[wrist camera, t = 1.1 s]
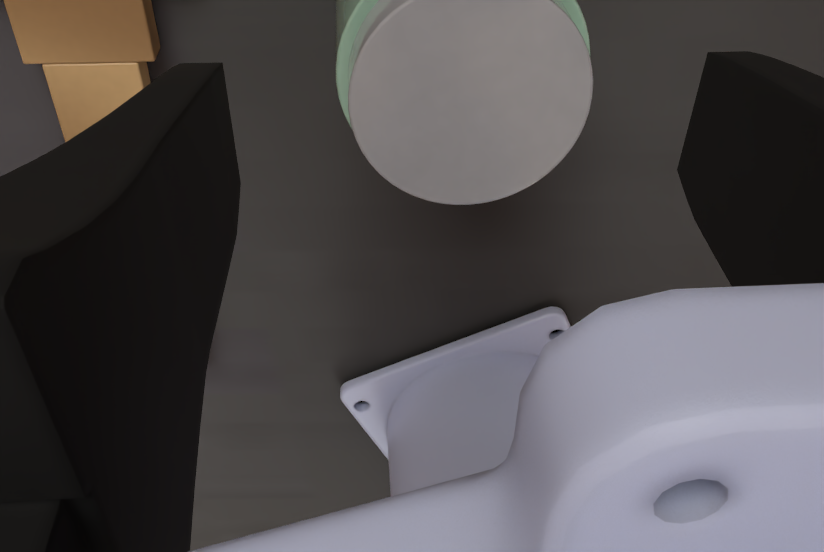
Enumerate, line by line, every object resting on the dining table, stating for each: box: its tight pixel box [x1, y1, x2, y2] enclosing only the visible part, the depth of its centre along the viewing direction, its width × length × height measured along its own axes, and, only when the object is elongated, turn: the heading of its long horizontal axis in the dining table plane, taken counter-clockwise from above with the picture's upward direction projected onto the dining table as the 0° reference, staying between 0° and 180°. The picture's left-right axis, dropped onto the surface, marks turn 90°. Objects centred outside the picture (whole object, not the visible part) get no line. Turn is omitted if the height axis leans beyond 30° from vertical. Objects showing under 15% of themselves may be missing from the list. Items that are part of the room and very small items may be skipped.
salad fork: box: [3, 0, 160, 142], centre depth 19 cm, size 18×5×1 cm, turn 179°
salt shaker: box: [336, 0, 593, 205], centre depth 16 cm, size 4×4×7 cm
